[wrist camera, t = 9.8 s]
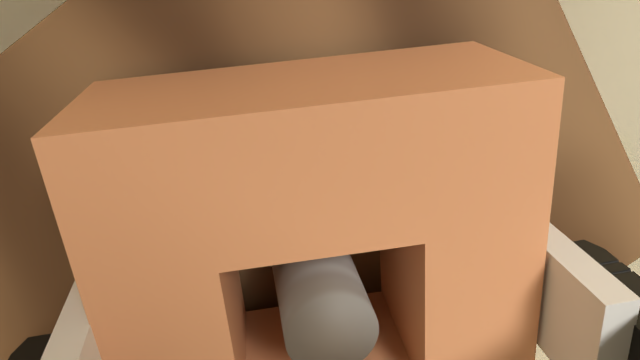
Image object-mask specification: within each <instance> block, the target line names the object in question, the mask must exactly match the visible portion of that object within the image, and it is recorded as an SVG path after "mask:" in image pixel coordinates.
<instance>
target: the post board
mask: <svg viewBox="0 0 640 360" xmlns="http://www.w3.org/2000/svg"><path fill="white" fill-rule="evenodd" d="M469 41H475V42H477V43H480V44H482V45H485V46H487V47H490V48H492V49H495V50H497V51H500V52H502V53H505V54H508V55H510V56H513V57H515V58H518V59H520V60H523V61H525V62H528V63H530V64H533V65H536V66H538V67H541V68H543V69H546V70H548V71H551V72H553V73H556V74H558V75H561V76H564V77H565V85H564V94H563V103H562V112H561V122H560V131H559V140H558V149H557V159H556V168H555V177H554V186H553V196H552V205H551V214H550V223H551V224H552V225H553V226H555V227H556V228H557V229H558V230H559V231H561V232H562V233H563V234H564V235H565V236H567V237H568V238H569V239H570V240H571V241H578V240H586V241H589V242H591V243H593V244H595V245H598V246H600V247H602V248H604V249H606V250H607V251H608V252H609V253H611V254H612V255H613V256H614V257H616V258H617V259H618V260H619V262H622V263H623V264H625V265H626V266H627V265H629V264H631V263H632V262H634V261H635V260H637V259H638V258H640V183H639V181H638V179H637V177H636V174H635V172H634V170H633V168H632V165H631V163H630V161H629V159H628V156H627V154H626V152H625V150H624V147H623V145H622V143H621V141H620V138H619V136H618V134H617V132H616V129H615V127H614V125H613V123H612V120H611V118H610V116H609V114H608V111H607V109H606V107H605V105H604V102H603V100H602V98H601V96H600V93H599V91H598V89H597V87H596V84H595V82H594V80H593V78H592V75H591V73H590V71H589V69H588V66H587V64H586V62H585V60H584V57H583V55H582V53H581V51H580V48H579V46H578V44H577V42H576V39H575V37H574V35H573V33H572V30H571V28H570V26H569V24H568V21H567V19H566V17H565V15H564V12H563V10H562V8H561V6H560V3H559V1H558V0H67V1H65V2H64V3H63V4H62V5H61V6H59V7H58V8H57V9H56V10H54V11H53V12H52V13H51V14H49V15H48V16H47V17H46V18H44V19H43V20H42V21H41V22H40V23H38V24H37V25H36V26H35V27H33V28H32V29H31V30H30V31H28V32H27V33H26V34H25V35H23V36H22V37H21V38H20V39H18V40H17V41H16V42H15V43H14V44H12V45H11V46H10V47H9V48H7V49H6V50H5V51H4V52H2V53H1V54H0V360H8V358H9V357H10V355H11V354H12V353H13V352H14V351H15V350H16V349H17V348H18V347H19V346H20V345H21V344H22V343H23V342H24V341H25V340H26V339H27V338H28V337H33V336H39V335H44V334H50V333H52V332H53V329H54V327H55V325H56V323H57V320H58V318H59V316H60V313H61V311H62V309H63V306H64V304H65V302H66V300H67V297H68V295H69V293H70V290H71V288H72V286H73V283H74V281H75V278H74V275H73V272H72V269H71V266H70V263H69V259H68V256H67V253H66V250H65V247H64V244H63V240H62V237H61V234H60V231H59V228H58V225H57V221H56V218H55V215H54V212H53V209H52V206H51V202H50V199H49V196H48V193H47V190H46V187H45V184H44V180H43V177H42V174H41V171H40V168H39V165H38V161H37V158H36V155H35V152H34V149H33V146H32V142H31V139H30V138H32V137H33V136H34V135H35V134H36V133H37V132H38V131H39V130H40V129H42V128H43V127H44V126H45V125H46V124H47V123H48V122H49V121H51V120H52V119H53V118H54V117H55V116H56V115H57V114H58V113H59V112H61V111H62V110H63V109H64V108H65V107H66V106H67V105H68V104H69V103H71V102H72V101H73V100H74V99H75V98H76V97H77V96H78V95H79V94H81V93H82V92H83V91H84V90H85V89H86V88H87V87H88V86H89V85H91V84H92V83H93V82H94V81H103V80H113V79H122V78H131V77H141V76H150V75H159V74H169V73H178V72H188V71H197V70H206V69H216V68H225V67H235V66H244V65H253V64H263V63H272V62H281V61H291V60H300V59H310V58H319V57H328V56H338V55H347V54H357V53H366V52H375V51H385V50H394V49H404V48H413V47H422V46H432V45H441V44H450V43H460V42H469ZM239 275H240V281H241V287H242V293H243V299H244V305H245V311H253V310H260V309H267V308H273V307H279V311H280V317H281V323H282V329H283V335H284V341H285V347H286V350H287V353H288V355H289V357H290V358H291V359H292V360H363V359H365V358H366V357H367V356H368V354H369V353H370V352H371V351H372V349H373V348H374V346H375V344H376V342H377V339H378V335H379V323H378V319H377V317H376V314H375V312H374V310H373V307H372V305H371V303H370V300H369V298H368V296H367V293H374V292H381V267H380V250H378V251H371V252H364V253H357V254H350V255H343V256H336V257H329V258H321V259H314V260H307V261H300V262H293V263H286V264H279V265H272V266H265V267H258V268H251V269H244V270H239Z"/></svg>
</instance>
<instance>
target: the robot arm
mask: <svg viewBox="0 0 640 360" xmlns="http://www.w3.org/2000/svg"><path fill="white" fill-rule="evenodd" d="M537 344H538V345H539V347H540V348H541V349H542V350H543V352H544V353H545V354H546V355H547V357H548V358H549V359H550V360H640V276H639V275H637V274H636V273H635V272H634V271H633V272H631V270H630V268H628V267H627V266H626V265H625V264H623V263H622V262H619V260H618V259H617V258H616V257H614V256H613V255H612V254H611V253H609V252H608V251H607V250H606V249H604V248H602V247H600V246H598V245H595V244H593V243H591V242H589V241H586V240H578V241H571V240H570V239H569V238H568V237H567V236H565V235H564V234H563V233H562V232H561V231H559V230H558V229H557V228H556V227H555V226H553V225H552V224H551V223H549V233H548V242H547V251H546V260H545V270H544V279H543V288H542V297H541V307H540V316H539V325H538V334H537ZM8 360H102V359H101V356H100V353H99V350H98V347H97V344H96V341H95V338H94V335H93V332H92V329H91V325H89V323H88V319H87V316H86V313H85V310H84V307H83V304H82V300H81V297H80V294H79V291H78V288H77V285H76V281H74V283H73V286H72V288H71V290H70V293H69V295H68V297H67V300H66V302H65V304H64V306H63V309H62V311H61V313H60V316H59V318H58V320H57V323H56V325H55V327H54V329H53V332H52V333H50V334H44V335H39V336H33V337H28V338H27V339H26V340H25V341H24V342H23V343H22V344H21V345H20V346H19V347H18V348H17V349H16V350H15V351H14V352H13V353H12V354H11V355H10V357H9V358H8Z"/></svg>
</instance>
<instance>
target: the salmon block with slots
mask: <svg viewBox="0 0 640 360" xmlns="http://www.w3.org/2000/svg"><path fill="white" fill-rule="evenodd" d="M564 85H565V77H564V76H561V75H558V74H556V73H553V72H551V71H548V70H546V69H543V68H541V67H538V66H536V65H533V64H530V63H528V62H525V61H523V60H520V59H518V58H515V57H513V56H510V55H508V54H505V53H502V52H500V51H497V50H495V49H492V48H490V47H487V46H485V45H482V44H480V43H477V42H475V41H469V42H460V43H450V44H441V45H432V46H422V47H413V48H404V49H394V50H385V51H375V52H366V53H357V54H347V55H338V56H328V57H319V58H310V59H300V60H291V61H281V62H272V63H263V64H253V65H244V66H235V67H225V68H216V69H206V70H197V71H188V72H178V73H169V74H159V75H150V76H141V77H131V78H122V79H113V80H103V81H94V82H93V83H92V84H91V85H89V86H88V87H87V88H86V89H85V90H84V91H83V92H82V93H81V94H79V95H78V96H77V97H76V98H75V99H74V100H73V101H72V102H71V103H69V104H68V105H67V106H66V107H65V108H64V109H63V110H62V111H61V112H59V113H58V114H57V115H56V116H55V117H54V118H53V119H52V120H51V121H49V122H48V123H47V124H46V125H45V126H44V127H43V128H42V129H40V130H39V131H38V132H37V133H36V134H35V135H34V136H33V137H32V138H30V139H31V142H32V146H33V149H34V152H35V155H36V158H37V161H38V165H39V168H40V171H41V174H42V177H43V180H44V184H45V187H46V190H47V193H48V196H49V199H50V202H51V206H52V209H53V212H54V215H55V218H56V221H57V225H58V228H59V231H60V234H61V237H62V240H63V244H64V247H65V250H66V253H67V256H68V259H69V263H70V266H71V269H72V272H73V275H74V278H75V281H76V285H77V288H78V291H79V294H80V297H81V300H82V304H83V307H84V310H85V313H86V316H87V319H88V323H89V325H91V329H92V332H93V335H94V338H95V341H96V344H97V347H98V350H99V353H100V356H101V359H102V360H292V359H291V358H290V357H289V355H288V353H287V350H286V347H285V341H284V335H283V329H282V323H281V317H280V311H279V307H273V308H267V309H260V310H253V311H245V305H244V299H243V293H242V287H241V281H240V275H239V270H244V269H251V268H258V267H265V266H272V265H279V264H286V263H293V262H300V261H307V260H314V259H321V258H329V257H336V256H343V255H350V254H357V253H364V252H371V251H378V250H380V267H381V292H374V293H367V296H368V298H369V300H370V303H371V305H372V307H373V310H374V312H375V314H376V317H377V319H378V323H379V335H378V339H377V342H376V344H375V346H374V348H373V349H372V351H371V352H370V353H369V354H368V356H367V357H366V358H365V359H363V360H535V353H536V344H537V334H538V325H539V316H540V307H541V297H542V288H543V279H544V270H545V260H546V251H547V242H548V233H549V223H550V214H551V205H552V196H553V186H554V177H555V168H556V159H557V149H558V140H559V131H560V122H561V112H562V103H563V94H564Z"/></svg>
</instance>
